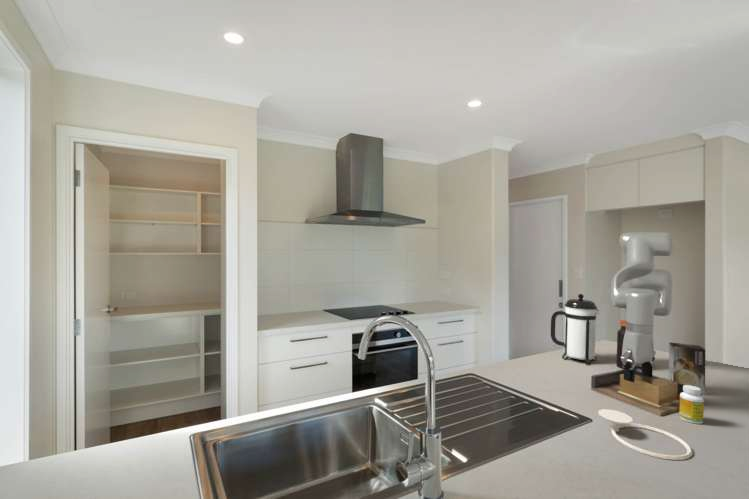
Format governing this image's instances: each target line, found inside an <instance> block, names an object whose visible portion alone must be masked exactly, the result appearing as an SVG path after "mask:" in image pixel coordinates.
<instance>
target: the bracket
mask: <svg viewBox="0 0 749 499" xmlns="http://www.w3.org/2000/svg"><path fill="white" fill-rule="evenodd" d="M620 392H622V393H625V394H628V395H631V396H633V397H636V398H639V399H642V400H645V401H647V402H650V403H653V404H656V405H662V404H666V403H669V402H673V401H677V396H678V382H676V381H673V380H669V378H666V377H661V378H658V379H653V380H651V379H647V378H644V377H641V376H638V375H635V381H634V382H630V381H627V380H624V374H620Z"/></svg>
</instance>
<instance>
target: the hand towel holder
mask: <svg viewBox="0 0 749 499" xmlns="http://www.w3.org/2000/svg"><path fill="white" fill-rule="evenodd" d="M597 413H598V415H599V416H600V417H601V418H602V419H604V420H605V421H607V422H610V423H611V425H610V427H609V428H610V430H611V434H612V436H613V438H614V439H616V441H617V442H619V443H621V444H622V445H623V446H625V447H627V448H629V449H631V450H633V451H635V452H638V453H641V454H643V455H645V456H646V455H647V456H649V457H653V458H655V459H656V458H657V459H663V460H670V461H684V460H688V459H690V458H691V457H692V456H693V454H694V453H693V450H692V448H691V446H690V445H689V444H688V442H686V441H685V440H684V439H683V438H680V437H679V436H677V435H675V434H672V433H671V432H669V431H666V430H663V429H662V428H661V429H660V428H657V427H654V426H650V425H646V424H640V423H633V422H634V421H633V420H634V419H633V418H632V416H630V415H628V414H627V413H625V412H622V411H619V410H615V409H607V408H602V409H600V410H598V412H597ZM622 428H623V429H624V428H635V429H641V430H648V431H651V432H655V433H658V434H661V435H663V436H666V437H668V438H671V439H673V440H674V441H677V442H678V443H680V444H681V445H682V446H683V447H685V449H686V453H685V454H682V455H668V454H661V453H658V452H652V451H650V450H647V449H646V450H645V449H644V448H640V447H638V446H635V445H633V444H631V443H629V442H627V441H626V440H624V439H623V438H621V437H620V436H619V435H618V434H617V433H619V431H620V429H622Z"/></svg>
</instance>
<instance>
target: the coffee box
mask: <svg viewBox="0 0 749 499" xmlns="http://www.w3.org/2000/svg"><path fill="white" fill-rule="evenodd" d="M668 344H669V347H668V348H669V349H668V352H669V354H668V357H669V358H668V360H669V361H668V379H669V380H673V381H676V382H678V383H681V384H684V385H691V386H695V387H698V388H700V389H701V394H700V395H703V396H705V395H706V349H705V348H704V347H702V346H701V345H697V344H687V343H678V342H669V343H668Z"/></svg>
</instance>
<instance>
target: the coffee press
mask: <svg viewBox="0 0 749 499" xmlns="http://www.w3.org/2000/svg"><path fill="white" fill-rule="evenodd" d="M584 298H585V297H584V294H583V293H579V294H578V295H577V298H570V299H568V300H566V301H565V303H564V308H565V311H563V310H559V311H555V312H554V313H552V315H551V319H550V337H551V340H552V342H553V343H554V344H555V345H558V346H561V347H563V348H564V353H563V354H562V356H561V359H563V360H565V361H567V360H568V359H569V358H571V359H574V360H575V359H576V360H581V361H584V364H585V365H589V366H590V364H591V360H592V361H597V357H596V354H595V353H596V328H597V327H596V326H597V325H596V322H597V321H596V320H597V315H600V314H601V312H600V310H599V309H598V306H597V305H596V303H595V302H594V301H592V300H589V299H584ZM558 316H564V319H565V321H564V342H563V341H560V340H558V339H557V338H556V319H557V317H558Z"/></svg>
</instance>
